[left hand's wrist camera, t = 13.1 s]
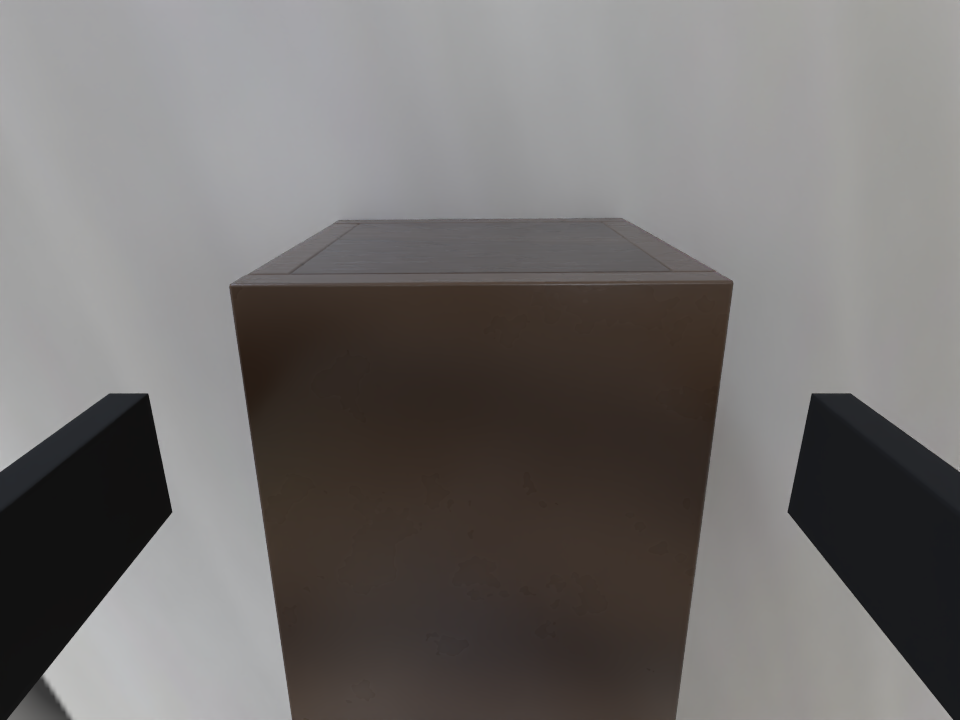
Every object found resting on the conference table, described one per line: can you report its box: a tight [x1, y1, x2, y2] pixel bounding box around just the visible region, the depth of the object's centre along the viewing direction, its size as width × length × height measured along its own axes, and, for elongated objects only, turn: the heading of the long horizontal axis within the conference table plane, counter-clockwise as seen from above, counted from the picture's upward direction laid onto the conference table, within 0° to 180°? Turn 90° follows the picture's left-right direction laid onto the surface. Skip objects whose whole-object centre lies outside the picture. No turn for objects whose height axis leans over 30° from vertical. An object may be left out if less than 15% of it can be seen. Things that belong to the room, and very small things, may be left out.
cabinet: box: [229, 218, 733, 720], centre depth 21 cm, size 19×10×10 cm, turn 0°
